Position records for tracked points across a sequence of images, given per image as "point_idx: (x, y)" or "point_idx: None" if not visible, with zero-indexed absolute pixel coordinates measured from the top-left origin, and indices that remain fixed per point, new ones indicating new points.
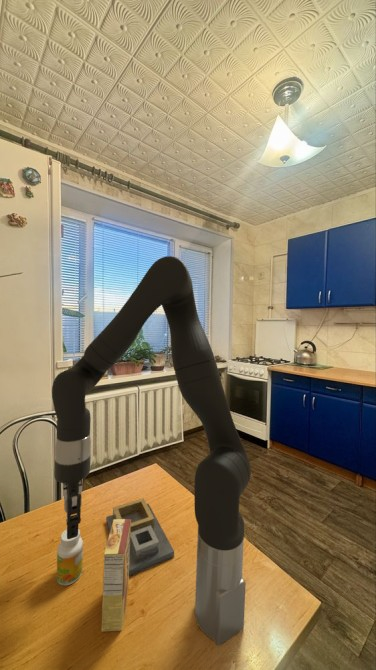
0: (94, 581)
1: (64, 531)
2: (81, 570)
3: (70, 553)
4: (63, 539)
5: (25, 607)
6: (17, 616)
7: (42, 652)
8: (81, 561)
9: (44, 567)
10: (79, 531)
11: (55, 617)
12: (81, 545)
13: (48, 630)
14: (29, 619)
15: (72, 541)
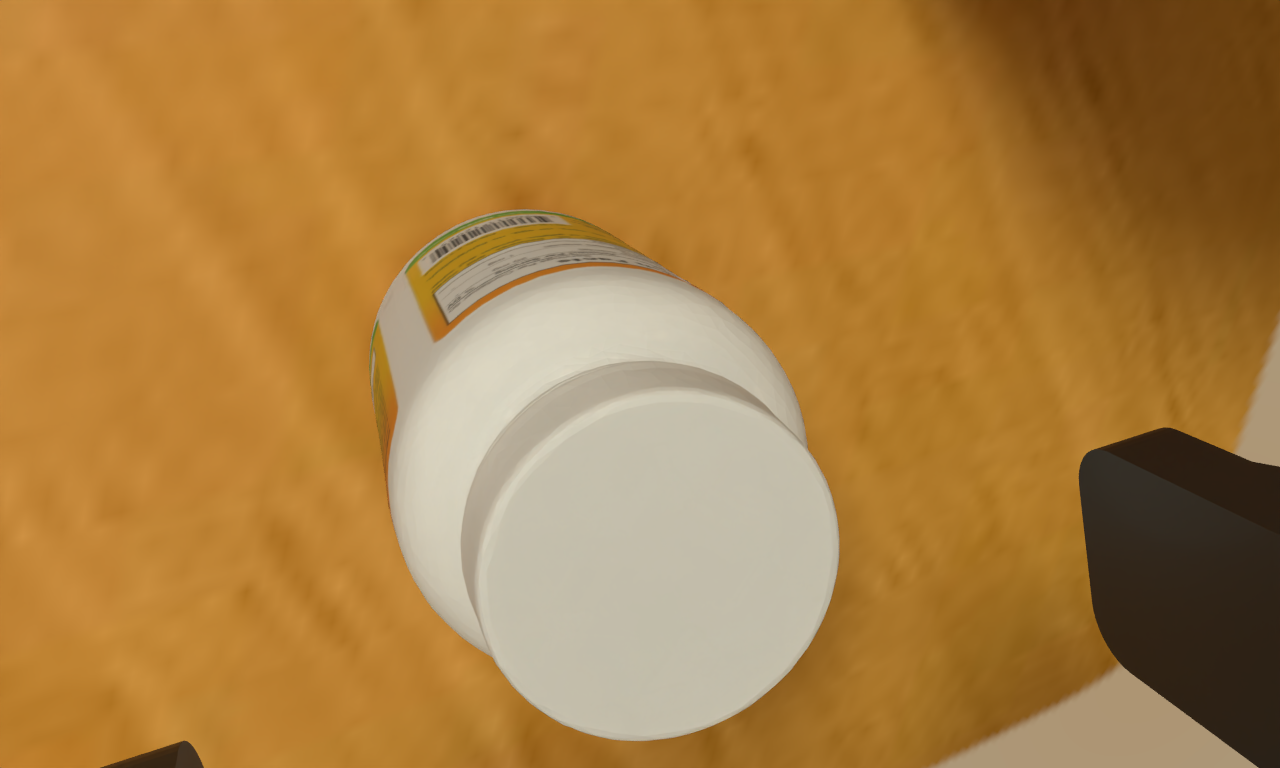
0: (683, 28)
1: (574, 714)
2: (572, 217)
3: (806, 444)
4: (785, 668)
5: (785, 693)
6: (848, 726)
7: (1184, 414)
8: (609, 238)
9: (353, 684)
10: (639, 404)
11: (956, 387)
12: (676, 290)
13: (1044, 417)
14: (904, 613)
15: (827, 484)
